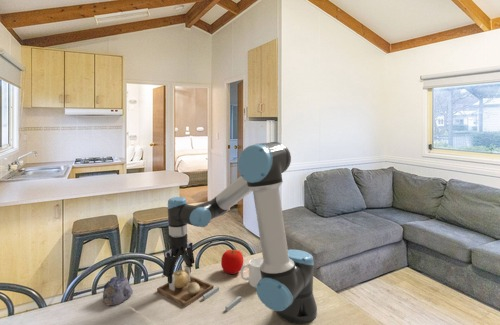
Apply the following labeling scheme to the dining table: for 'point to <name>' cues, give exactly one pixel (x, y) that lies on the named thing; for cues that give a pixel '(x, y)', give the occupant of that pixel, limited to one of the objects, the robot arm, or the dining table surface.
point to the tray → (185, 292)
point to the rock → (117, 290)
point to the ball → (193, 288)
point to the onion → (180, 278)
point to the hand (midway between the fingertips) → (180, 284)
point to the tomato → (232, 261)
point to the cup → (253, 271)
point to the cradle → (226, 305)
